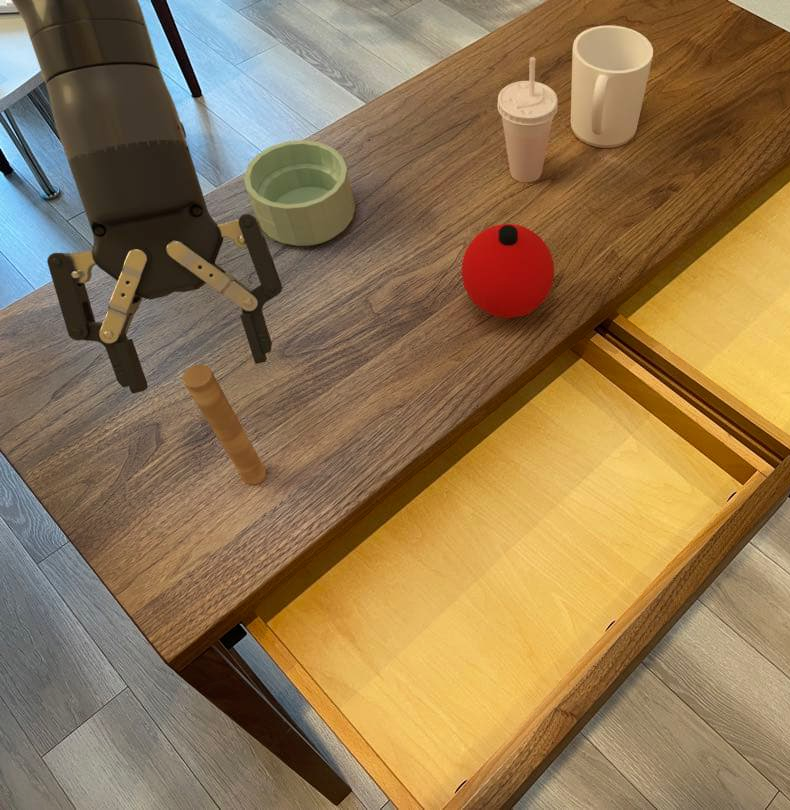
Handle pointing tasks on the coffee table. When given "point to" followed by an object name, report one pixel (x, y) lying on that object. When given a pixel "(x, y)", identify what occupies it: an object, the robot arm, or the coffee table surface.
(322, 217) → the bowl
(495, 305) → the ornament
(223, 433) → the stick
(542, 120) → the smoothie
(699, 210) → the coffee table surface
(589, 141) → the mug
